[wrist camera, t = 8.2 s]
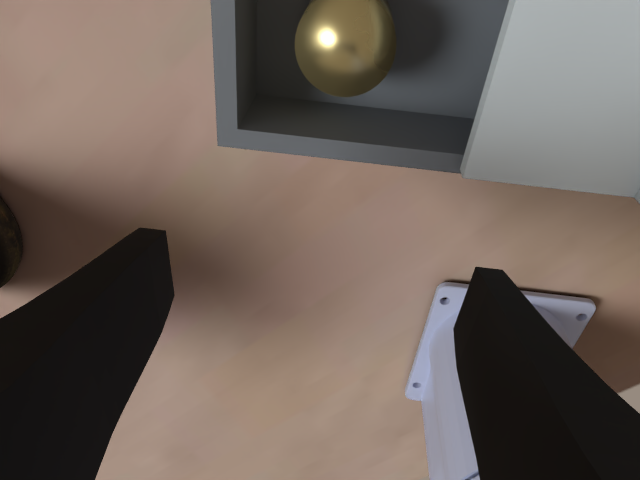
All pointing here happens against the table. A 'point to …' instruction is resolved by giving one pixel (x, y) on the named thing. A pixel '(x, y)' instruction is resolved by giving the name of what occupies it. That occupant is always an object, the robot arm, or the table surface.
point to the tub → (363, 110)
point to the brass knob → (346, 45)
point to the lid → (562, 99)
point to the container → (8, 244)
